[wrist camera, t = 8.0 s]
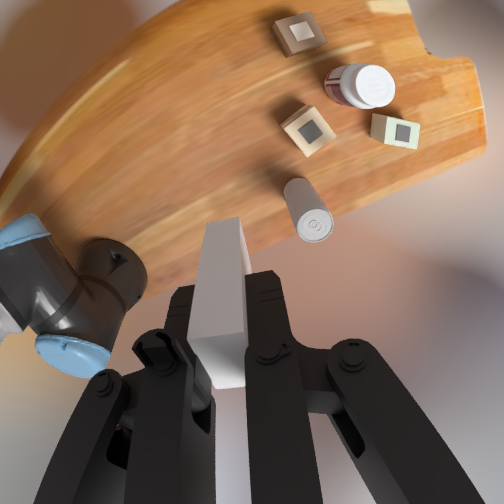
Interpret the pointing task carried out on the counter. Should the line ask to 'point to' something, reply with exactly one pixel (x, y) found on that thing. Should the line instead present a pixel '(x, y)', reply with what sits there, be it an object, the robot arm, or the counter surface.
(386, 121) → the sage block
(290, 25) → the walnut block
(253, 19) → the counter surface
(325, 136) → the beech block
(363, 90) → the pill bottle
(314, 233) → the beverage can
